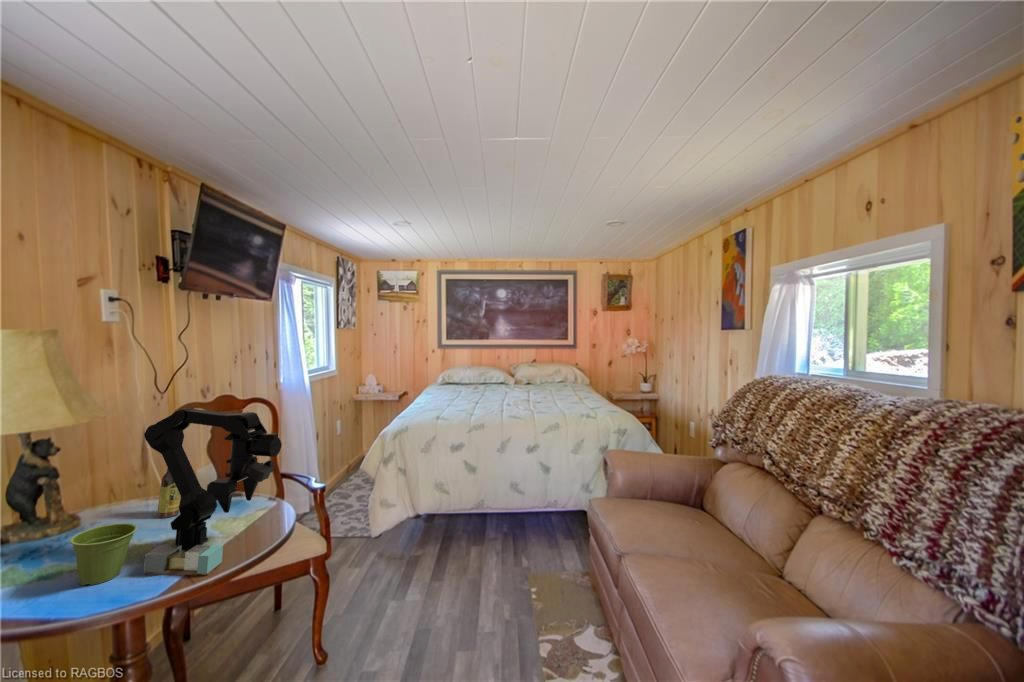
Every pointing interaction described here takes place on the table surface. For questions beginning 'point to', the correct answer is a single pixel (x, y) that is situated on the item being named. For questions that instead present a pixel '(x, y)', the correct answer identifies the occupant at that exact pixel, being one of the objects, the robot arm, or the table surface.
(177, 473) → the robot arm
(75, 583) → the table surface
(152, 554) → the dark grey cube
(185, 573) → the board
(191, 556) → the cream rectangular block
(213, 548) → the turquoise rectangular block
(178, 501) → the sauce bottle
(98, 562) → the plant pot
